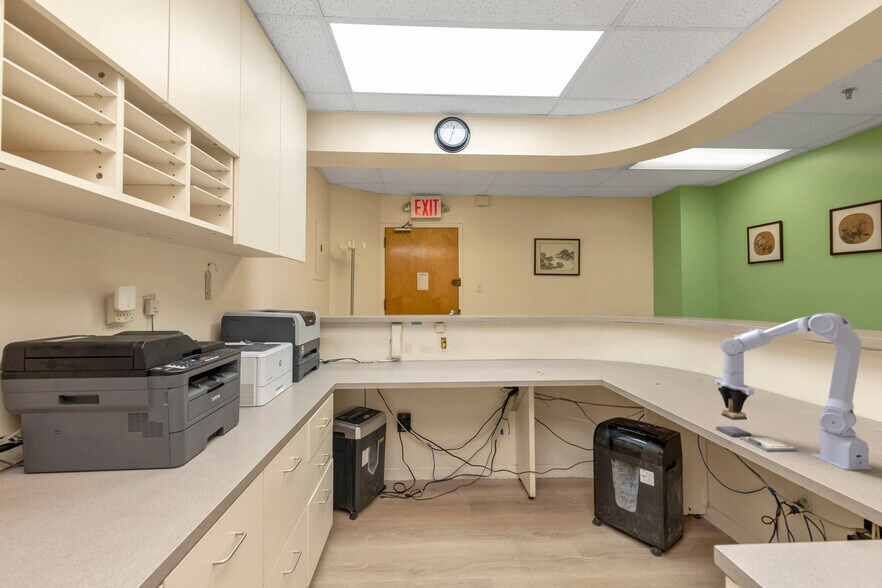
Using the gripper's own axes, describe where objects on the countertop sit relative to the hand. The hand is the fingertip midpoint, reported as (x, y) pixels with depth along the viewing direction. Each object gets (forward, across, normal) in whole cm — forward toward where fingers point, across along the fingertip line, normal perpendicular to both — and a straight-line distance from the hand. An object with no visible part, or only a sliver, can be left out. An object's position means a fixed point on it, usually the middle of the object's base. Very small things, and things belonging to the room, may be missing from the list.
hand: (733, 409), depth 131 cm
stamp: (+3, 0, 0) cm, 3 cm away
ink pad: (+8, 0, 0) cm, 8 cm away
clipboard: (+8, +10, +3) cm, 13 cm away
